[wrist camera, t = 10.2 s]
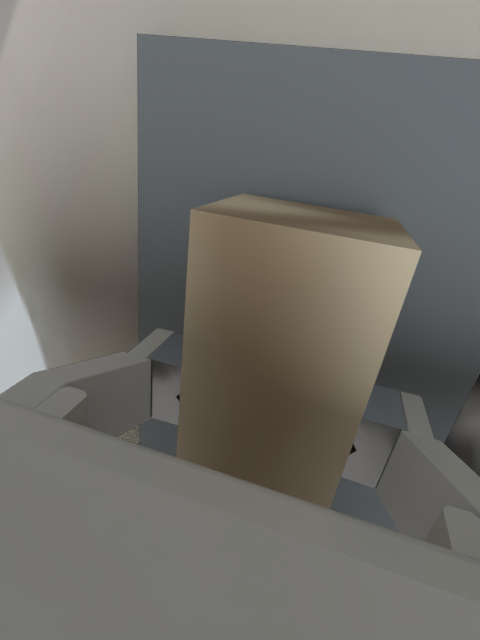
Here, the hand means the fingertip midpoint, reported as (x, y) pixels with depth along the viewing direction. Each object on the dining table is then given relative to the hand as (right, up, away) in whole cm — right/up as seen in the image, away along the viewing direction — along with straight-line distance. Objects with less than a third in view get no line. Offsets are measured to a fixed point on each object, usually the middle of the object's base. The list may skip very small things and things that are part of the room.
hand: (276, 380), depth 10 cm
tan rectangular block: (0, +1, +1) cm, 2 cm away
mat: (+1, +2, +3) cm, 4 cm away
